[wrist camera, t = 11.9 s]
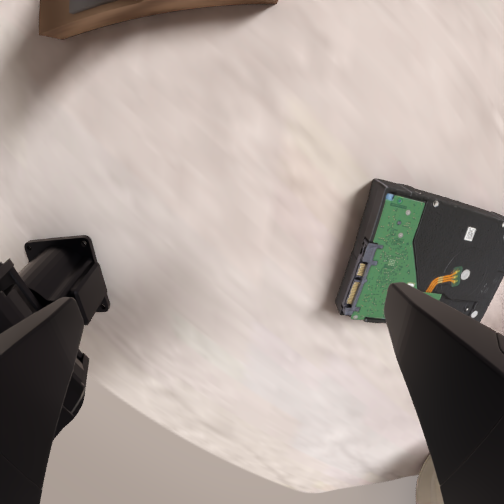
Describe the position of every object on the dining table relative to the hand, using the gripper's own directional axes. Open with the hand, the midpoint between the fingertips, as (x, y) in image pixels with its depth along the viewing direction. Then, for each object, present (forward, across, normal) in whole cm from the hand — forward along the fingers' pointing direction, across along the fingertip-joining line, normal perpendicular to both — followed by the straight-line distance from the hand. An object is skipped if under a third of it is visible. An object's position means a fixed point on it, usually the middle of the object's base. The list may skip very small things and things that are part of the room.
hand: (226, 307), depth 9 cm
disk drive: (+14, -15, +6) cm, 21 cm away
